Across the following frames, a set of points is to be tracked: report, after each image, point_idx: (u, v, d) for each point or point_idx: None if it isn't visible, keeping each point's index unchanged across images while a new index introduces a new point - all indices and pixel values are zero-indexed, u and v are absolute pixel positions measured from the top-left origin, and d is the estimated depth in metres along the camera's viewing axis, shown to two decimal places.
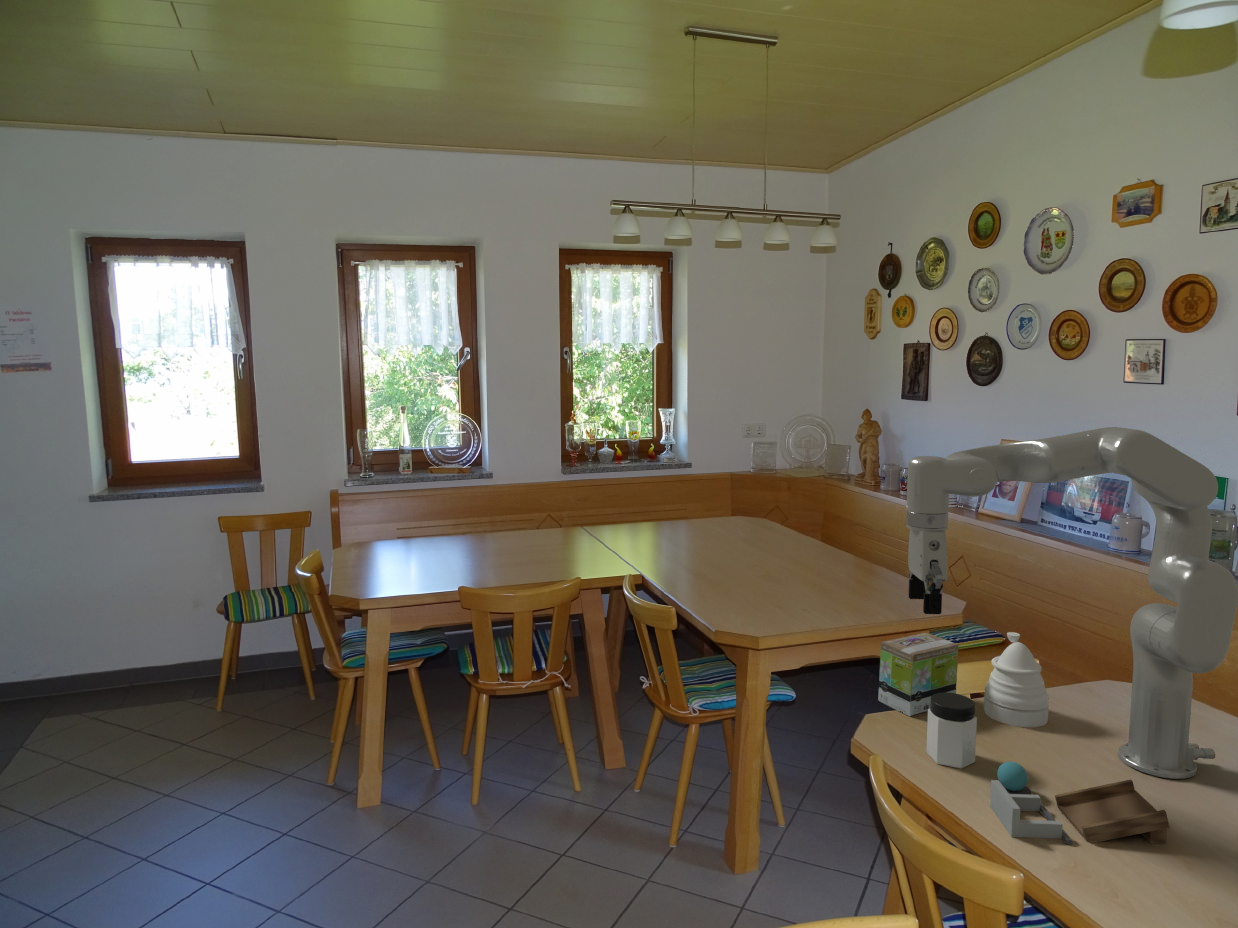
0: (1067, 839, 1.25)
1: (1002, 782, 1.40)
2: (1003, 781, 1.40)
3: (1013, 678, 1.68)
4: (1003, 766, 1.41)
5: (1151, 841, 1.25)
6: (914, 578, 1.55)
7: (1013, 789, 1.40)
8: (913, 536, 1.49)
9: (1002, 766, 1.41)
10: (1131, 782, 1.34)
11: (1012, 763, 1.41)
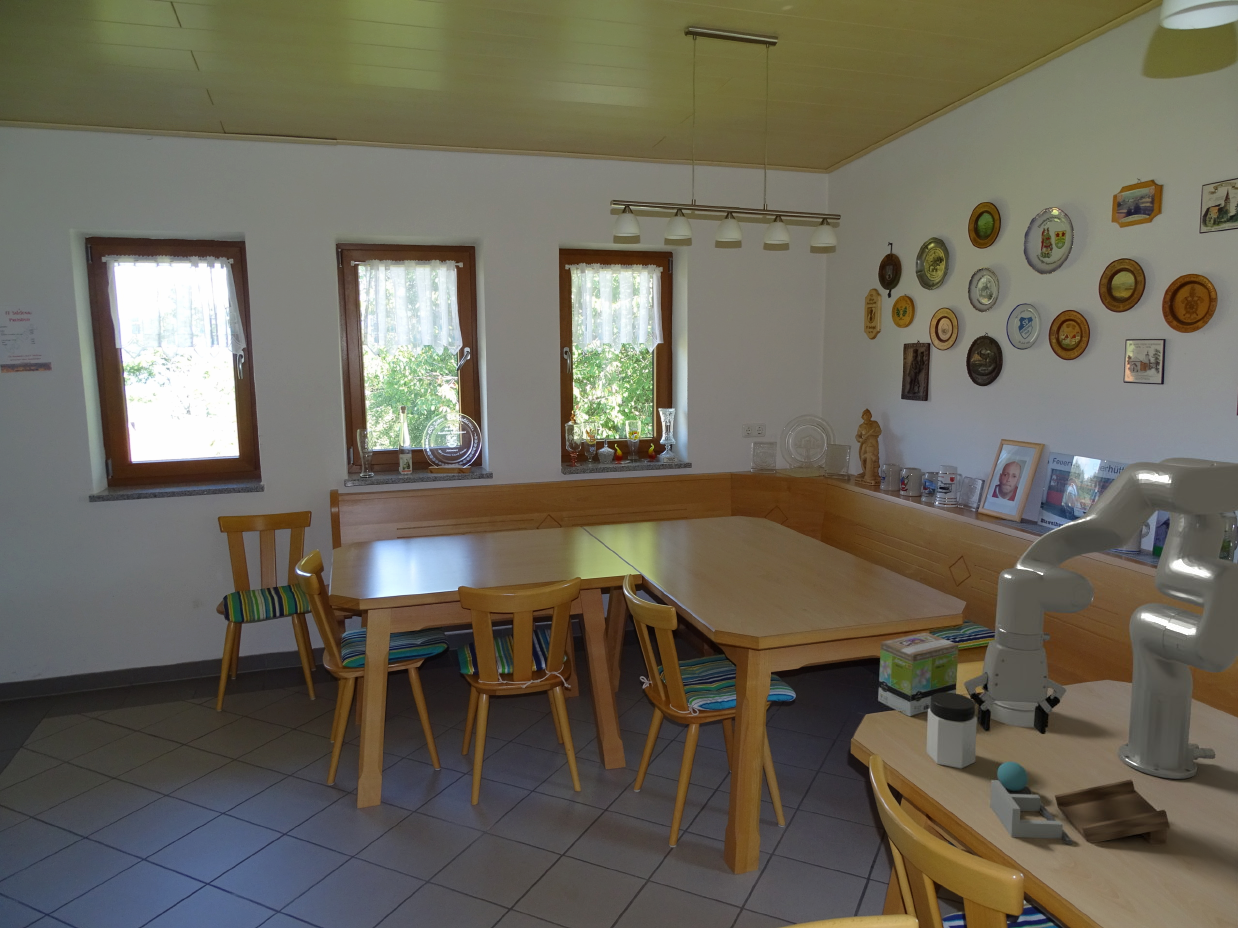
0: (1067, 839, 1.25)
1: (1002, 782, 1.40)
2: (1003, 781, 1.40)
3: None
4: (1003, 766, 1.41)
5: (1151, 841, 1.25)
6: None
7: (1013, 789, 1.40)
8: (1023, 660, 1.36)
9: (1002, 766, 1.41)
10: (1131, 782, 1.34)
11: (1012, 763, 1.41)
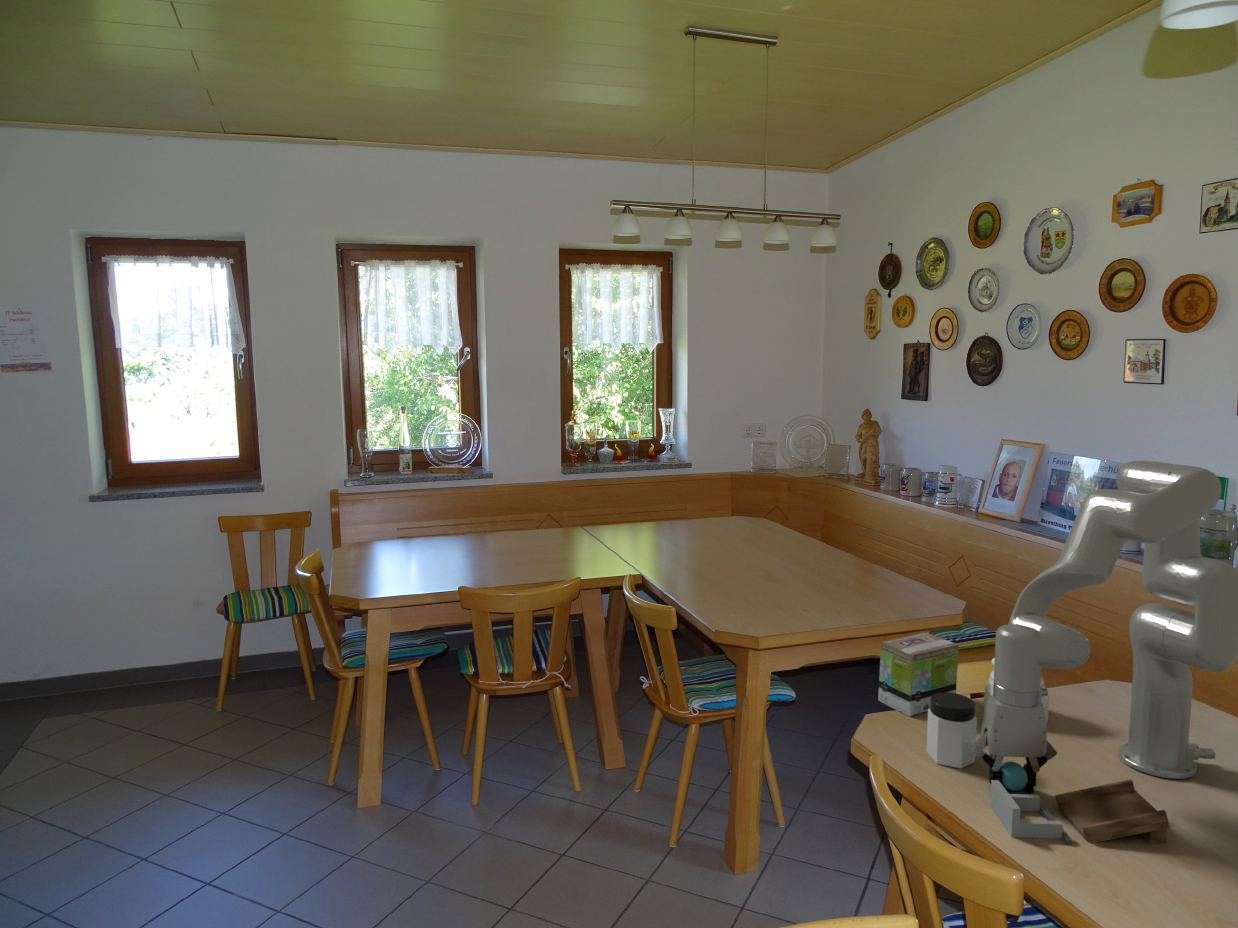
0: (1067, 839, 1.25)
1: (1002, 782, 1.40)
2: (1003, 781, 1.40)
3: None
4: (1003, 766, 1.41)
5: (1151, 841, 1.25)
6: None
7: (1013, 789, 1.40)
8: (1022, 716, 1.37)
9: (1002, 766, 1.41)
10: (1131, 782, 1.34)
11: (1012, 763, 1.41)
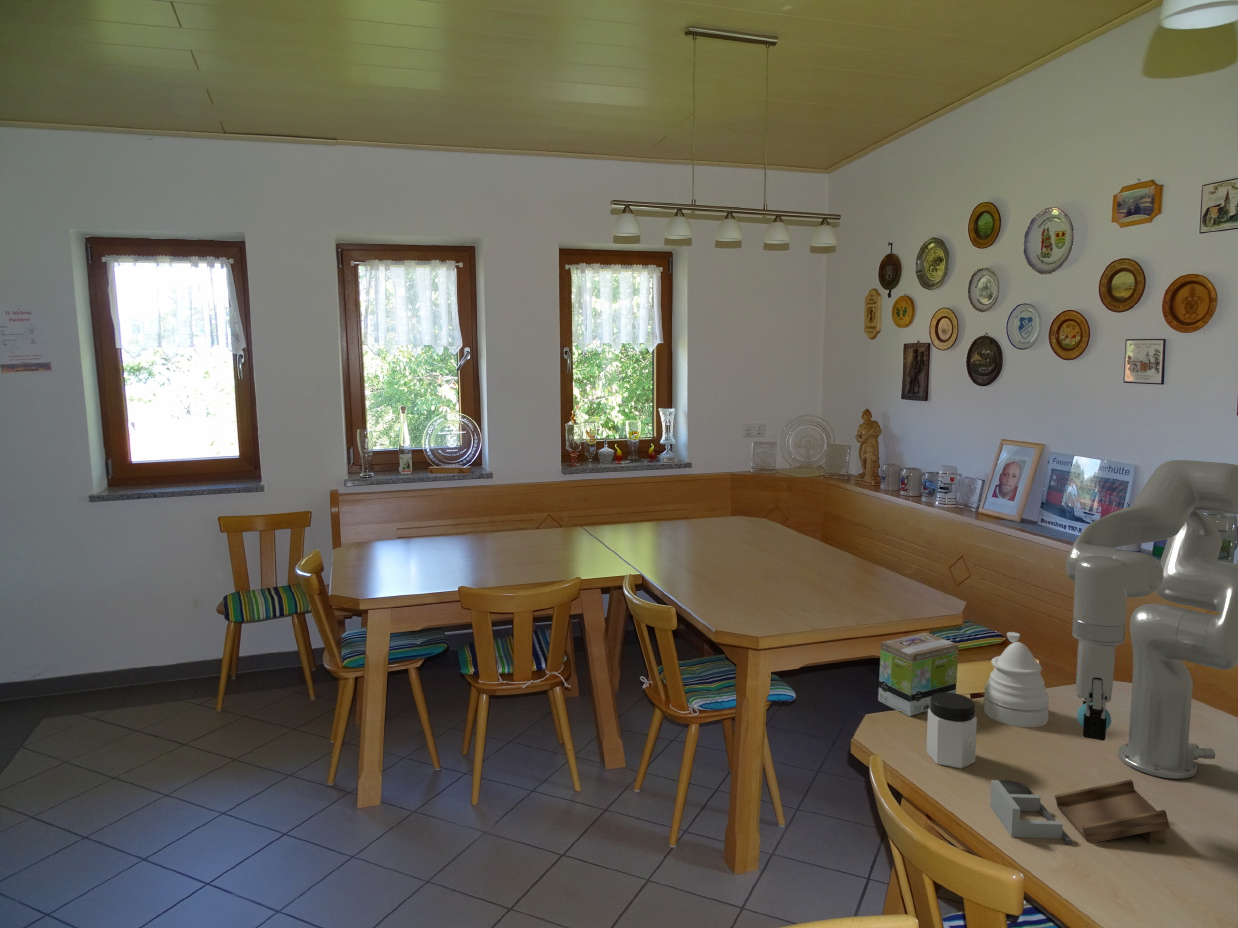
0: (1067, 839, 1.25)
1: None
2: None
3: (1013, 678, 1.68)
4: None
5: (1151, 841, 1.25)
6: None
7: (1106, 729, 1.31)
8: None
9: None
10: (1131, 782, 1.34)
11: None
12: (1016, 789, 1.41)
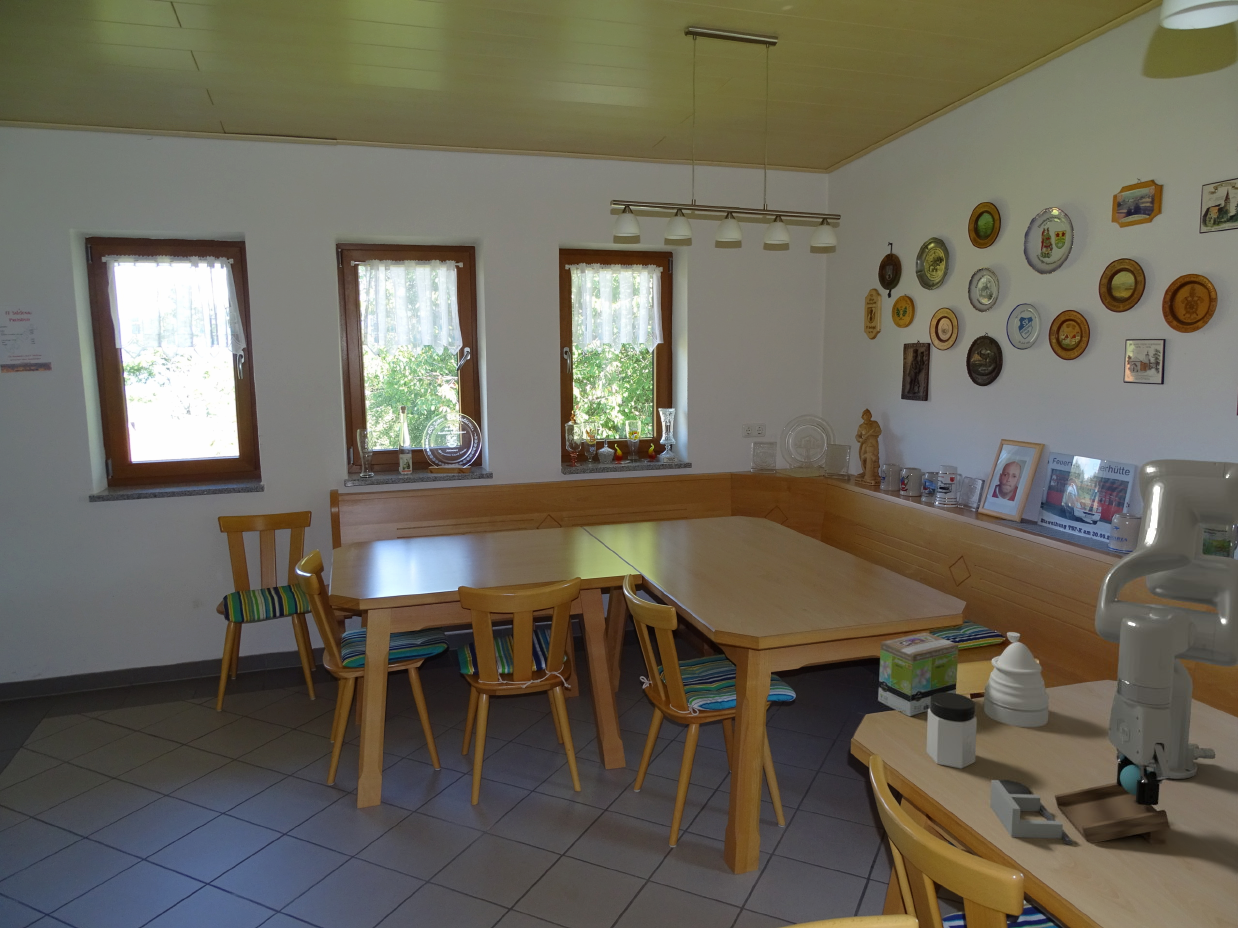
0: (1067, 839, 1.25)
1: None
2: None
3: (1013, 678, 1.68)
4: None
5: (1151, 841, 1.25)
6: None
7: None
8: None
9: None
10: None
11: None
12: (1016, 789, 1.41)
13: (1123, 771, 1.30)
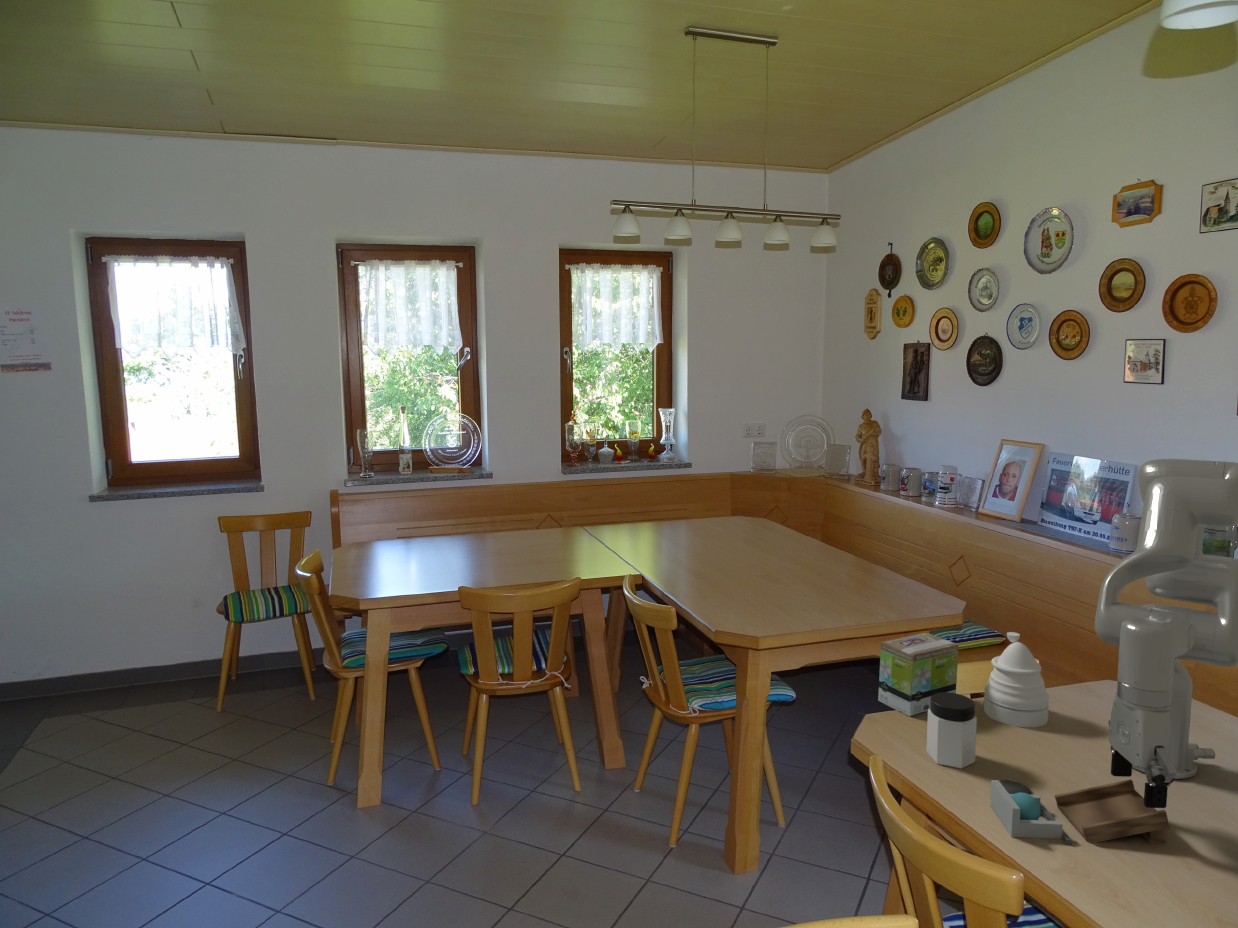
0: (1067, 839, 1.25)
1: (1034, 809, 1.29)
2: (1031, 807, 1.29)
3: (1013, 678, 1.68)
4: None
5: (1151, 841, 1.25)
6: None
7: (1035, 799, 1.31)
8: None
9: None
10: (1131, 782, 1.34)
11: None
12: (1016, 789, 1.41)
13: None
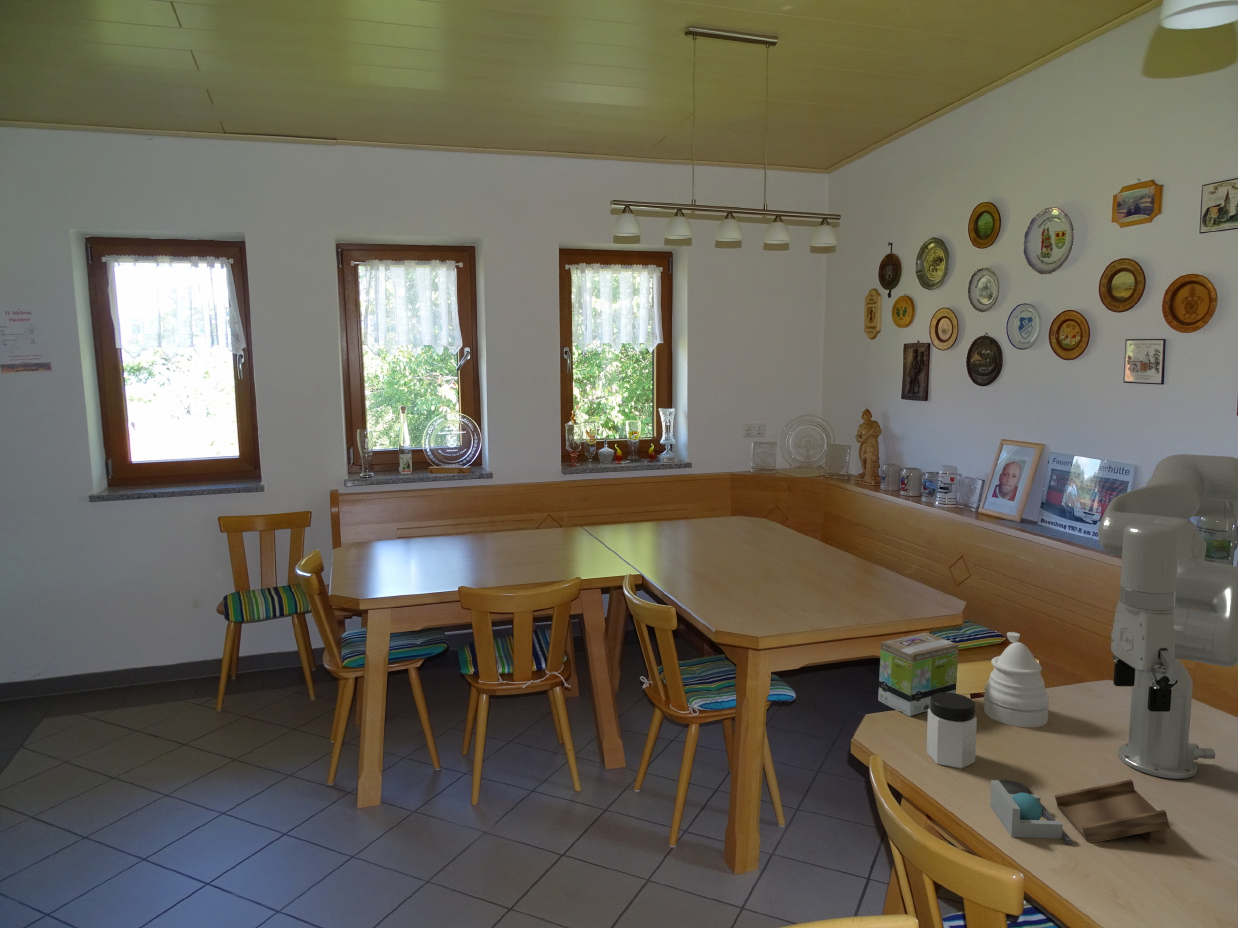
0: (1067, 839, 1.25)
1: (1036, 810, 1.29)
2: (1033, 808, 1.29)
3: (1013, 678, 1.68)
4: None
5: (1151, 841, 1.25)
6: None
7: (1037, 800, 1.31)
8: None
9: None
10: (1131, 782, 1.34)
11: None
12: (1016, 789, 1.41)
13: None
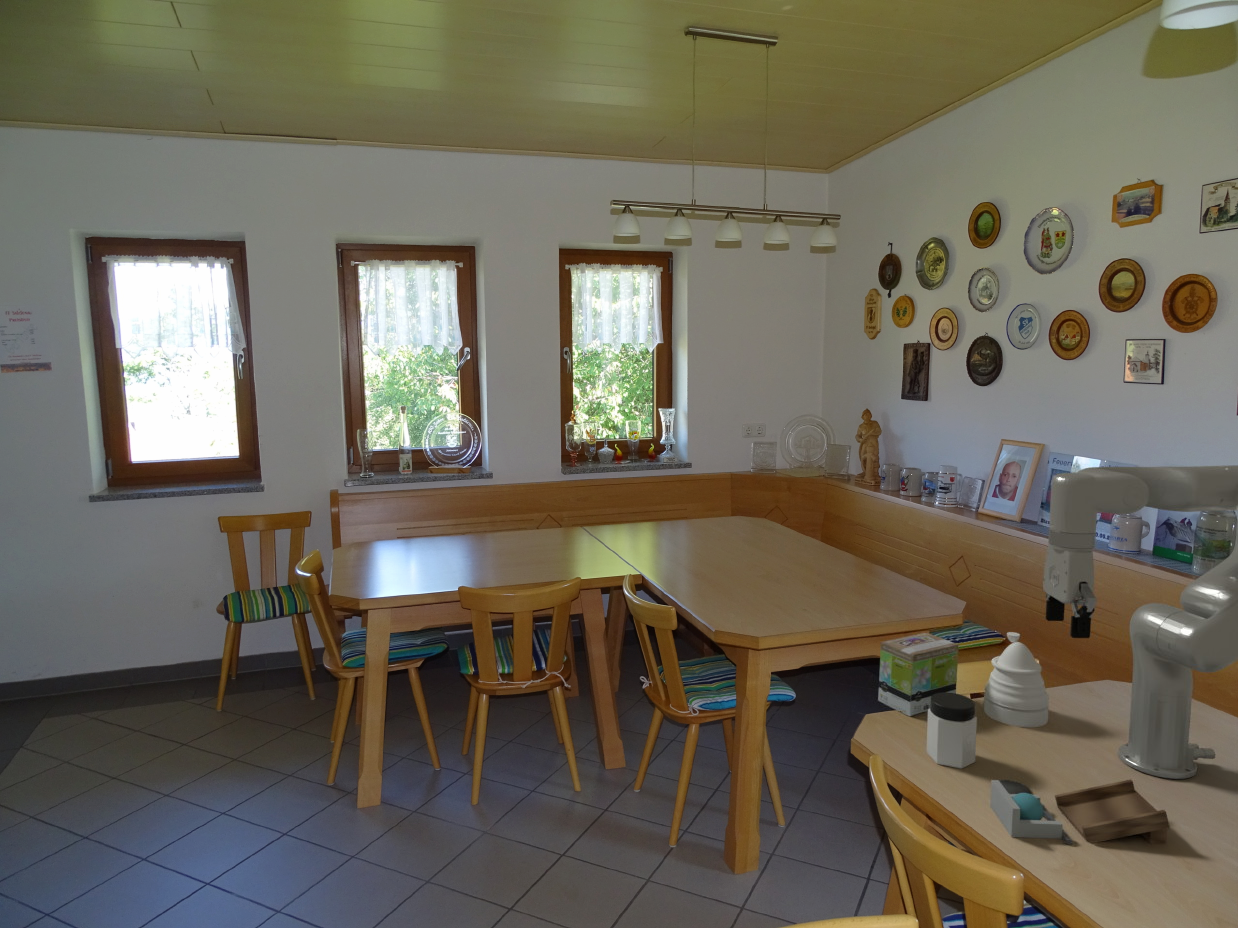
0: (1067, 839, 1.25)
1: (1038, 811, 1.29)
2: (1035, 808, 1.29)
3: (1013, 678, 1.68)
4: (1020, 812, 1.30)
5: (1151, 841, 1.25)
6: None
7: (1039, 801, 1.30)
8: None
9: (1020, 814, 1.30)
10: (1131, 782, 1.34)
11: None
12: (1016, 789, 1.41)
13: None
